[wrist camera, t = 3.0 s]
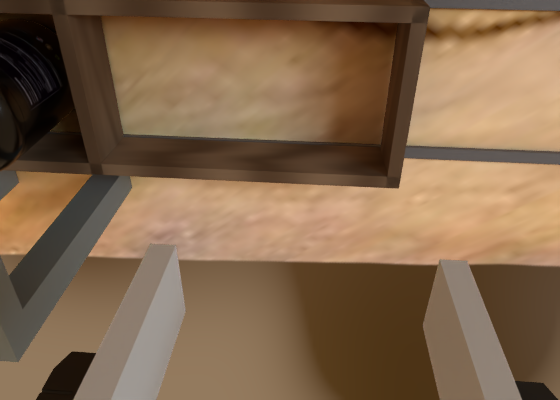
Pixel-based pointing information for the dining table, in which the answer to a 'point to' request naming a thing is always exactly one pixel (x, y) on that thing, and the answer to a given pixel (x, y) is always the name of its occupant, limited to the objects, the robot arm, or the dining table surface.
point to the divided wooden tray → (208, 153)
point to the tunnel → (113, 190)
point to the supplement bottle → (29, 87)
